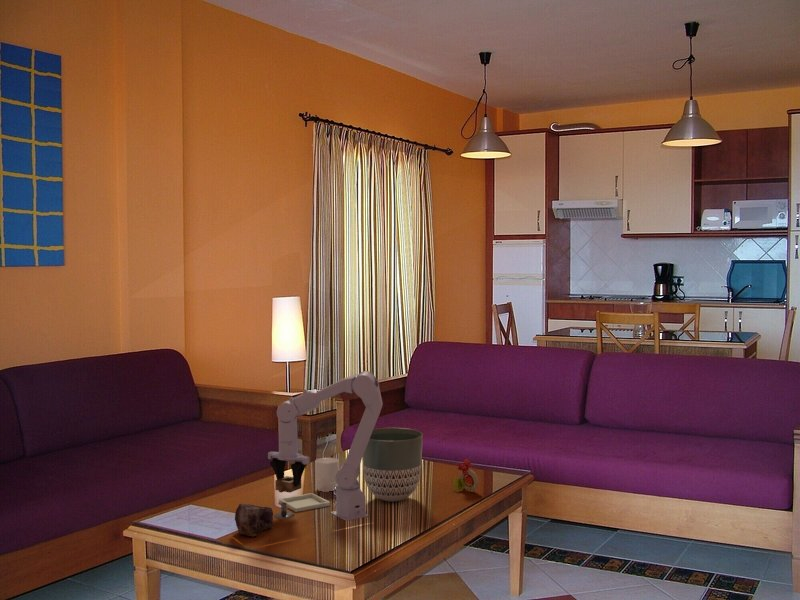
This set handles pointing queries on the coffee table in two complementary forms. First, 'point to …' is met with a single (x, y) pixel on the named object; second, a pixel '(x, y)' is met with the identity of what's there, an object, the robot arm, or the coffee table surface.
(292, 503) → the tray
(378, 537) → the coffee table surface
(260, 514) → the rock
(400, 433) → the planter
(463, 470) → the bird rattle
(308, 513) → the coffee table surface
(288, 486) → the brown square frame
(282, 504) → the grey knobbed lid
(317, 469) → the white cup
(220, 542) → the coffee table surface
